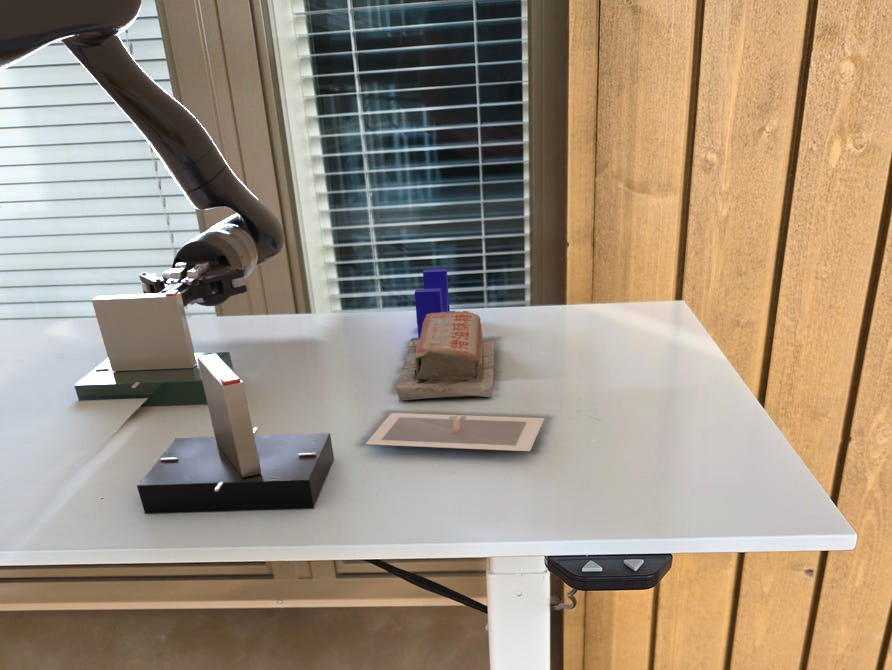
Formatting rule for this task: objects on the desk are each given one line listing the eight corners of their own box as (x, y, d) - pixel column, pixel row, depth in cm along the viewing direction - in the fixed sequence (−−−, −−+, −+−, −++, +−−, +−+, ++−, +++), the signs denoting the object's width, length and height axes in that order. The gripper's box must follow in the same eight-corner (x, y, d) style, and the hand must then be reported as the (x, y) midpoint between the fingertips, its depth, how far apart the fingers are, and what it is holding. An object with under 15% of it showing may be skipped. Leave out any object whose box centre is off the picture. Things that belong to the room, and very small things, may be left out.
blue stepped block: (455, 342, 108) (452, 290, 105) (418, 343, 108) (414, 292, 105) (461, 315, 118) (458, 268, 115) (427, 317, 118) (423, 269, 115)
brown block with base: (407, 309, 103) (493, 306, 103) (411, 351, 106) (494, 348, 105) (391, 356, 88) (491, 352, 88) (396, 403, 91) (493, 399, 91)
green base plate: (75, 413, 93) (67, 389, 92) (120, 373, 104) (114, 350, 102) (205, 409, 92) (199, 384, 91) (237, 369, 103) (232, 346, 102)
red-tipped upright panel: (216, 442, 78) (196, 353, 73) (234, 438, 78) (215, 350, 74) (242, 478, 71) (221, 383, 67) (261, 473, 71) (242, 379, 67)
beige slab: (111, 371, 96) (90, 297, 92) (117, 366, 98) (96, 293, 93) (192, 368, 96) (175, 293, 91) (197, 363, 97) (180, 289, 93)
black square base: (137, 522, 71) (128, 492, 69) (187, 457, 82) (180, 429, 80) (310, 517, 70) (304, 486, 69) (337, 452, 81) (332, 424, 80)
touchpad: (530, 462, 77) (529, 439, 76) (366, 455, 80) (364, 432, 79) (544, 429, 83) (544, 407, 82) (392, 423, 86) (390, 402, 85)
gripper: (153, 236, 109) (100, 268, 94) (259, 231, 108) (221, 262, 94) (169, 300, 113) (119, 339, 99) (271, 295, 112) (236, 334, 98)
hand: (169, 301), depth 96 cm, fingers closed
